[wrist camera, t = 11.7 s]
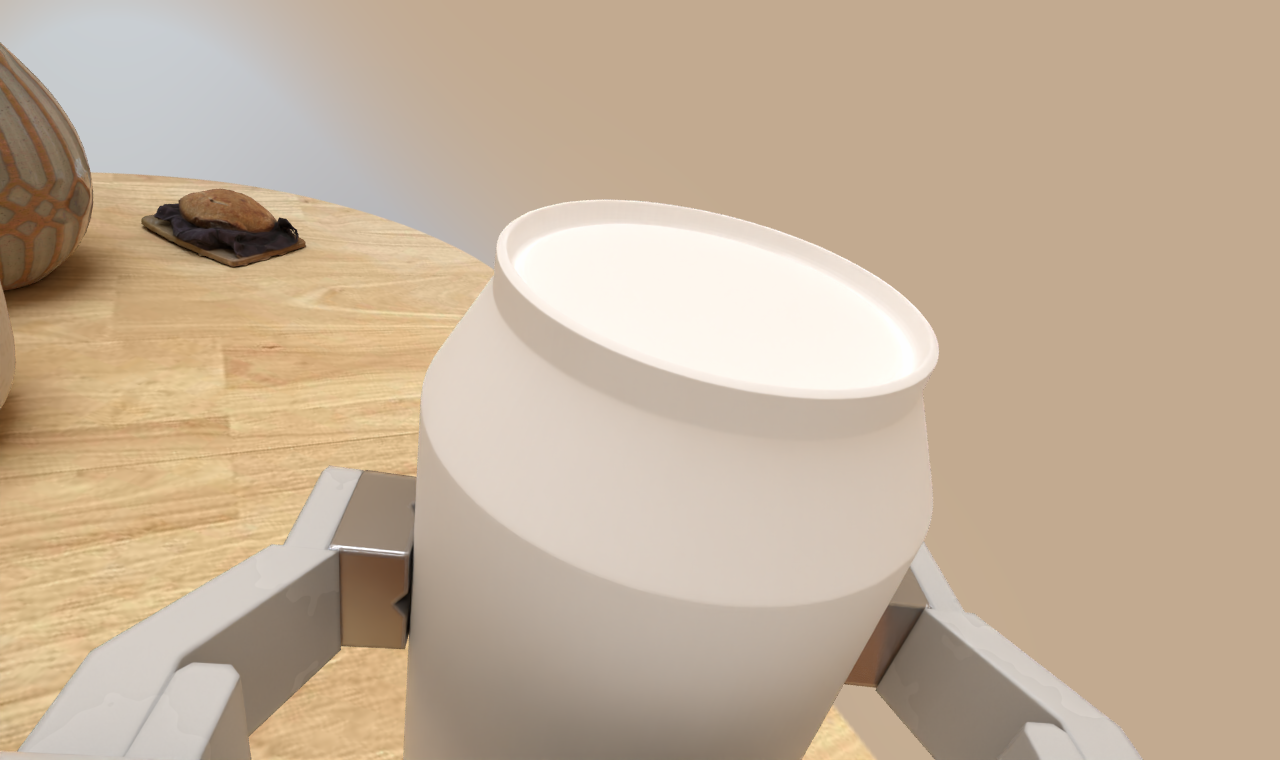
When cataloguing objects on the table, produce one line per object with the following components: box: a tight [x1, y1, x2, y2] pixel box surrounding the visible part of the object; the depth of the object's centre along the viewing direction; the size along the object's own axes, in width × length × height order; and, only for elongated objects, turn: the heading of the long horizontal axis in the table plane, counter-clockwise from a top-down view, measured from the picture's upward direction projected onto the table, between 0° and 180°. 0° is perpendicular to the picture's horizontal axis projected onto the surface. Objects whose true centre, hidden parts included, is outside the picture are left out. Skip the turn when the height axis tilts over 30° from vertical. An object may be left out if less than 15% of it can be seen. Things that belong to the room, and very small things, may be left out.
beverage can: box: [403, 200, 939, 760], centre depth 11 cm, size 6×6×12 cm
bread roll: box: [141, 189, 306, 267], centre depth 57 cm, size 11×8×4 cm
